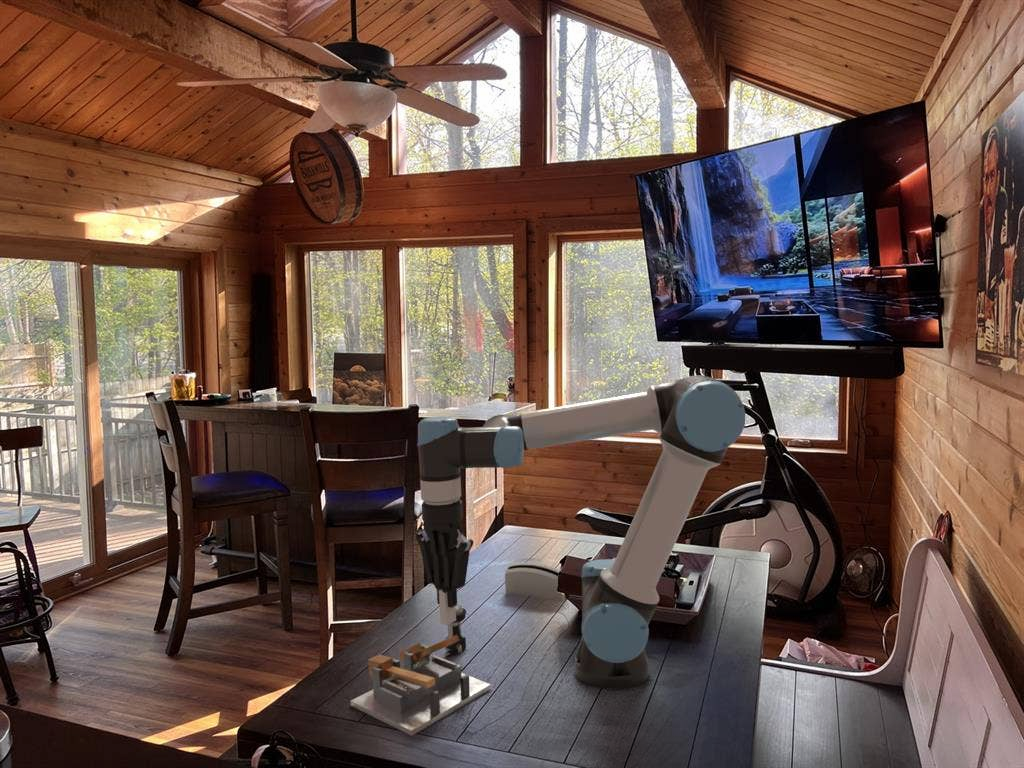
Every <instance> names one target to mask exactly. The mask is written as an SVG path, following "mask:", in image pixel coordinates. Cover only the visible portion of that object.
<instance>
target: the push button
mask: <svg viewBox="0 0 1024 768" xmlns="http://www.w3.org/2000/svg"><path fill="white" fill-rule="evenodd" d="M455 609H456V621H454V622H452V623H450V624H448V625H447V639H448V638H450V637H453V636H455V635H457V636H458V638H459V641H458V642H456V643H454V644H451V645H449V646H447V647H444V650H442V653H443V655H442V657H446V656H452V657H453V656H454V655H456V654H458V653H462V652H463V651H464V650H466V648H467V640H466V639H467V637H464V636H463V635H462V622H463V621H464V620H465V619H466V615H467V610H466V609H465V608H463V606H462V605H460V604H458V603H457V605H456V606H455ZM462 650H463V651H462Z"/></svg>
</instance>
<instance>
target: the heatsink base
mask: <svg viewBox="0 0 1024 768" xmlns="http://www.w3.org/2000/svg"><path fill="white" fill-rule="evenodd" d="M420 645H421V648H422V649H425V648H427V647H429V645H427V644H424V643H422V644H420ZM392 658H393V666H394V667H398V668H401V660H399V659H396V658H394V657H392ZM425 658H426V659H425V660H423V661H421V662H419V664H418V663H417V664H415V665H414V657H413V654H411V653H409V652H405V653H404V667H403V669H405V670H409V671H412V672H416V673H419V674H423V675H426V676H430V677H434V678H435V685H433V686H431V687H430V688H424V687H421V686H417V685H414V684H411V683H407V682H404V681H401V680H397V679H394V678H390V681H389V680H387V679H386V680H383V672H382V669H381V668H378V667H376V666H375V667H373V668H372V672H373V677H372V689H371V690H369V691H367V692H366V693H363V694H361V695H359V696H357V697H355V698H353V699H351V700H350V706H351V707H353V708H354V709H357V710H359V711H361V712H363V713H365V714H367V715H369V716H371V717H372V718H375V719H377V720H378V721H381V722H384V723H385V724H387V725H389V726H391V727H393V728H394V729H397V730H399V731H401V732H403V733H405V734H407V735H408V736H411V737H412V736H414V735H416V734H417V733H419V732H422V730H424V729H426V728H427V727H430V726H431V725H432V724H435V723H436V722H437V721H440V720H441V719H443V718H444V717H446V716H448V715H450V714H452V713H453V712H454V711H456V710H458V709H460V708H461V707H463V706H465V705H467V704H468V703H470V702H471V701H473V700H475V699H476V698H478V697H480V696H481V695H484V694H485V693H487V692H488V691H490V690H492V688H491V687H492V686H491V684H490V683H488V682H485V681H483V680H481V679H478V678H475V677H472V676H470V675H469V674H467V673H466V674H465V673H463V672H462V665H461V664H457V663H455V662H453V661H450V660H448V659H445V658H443V657H440V656H437V655H435V654H433V655H432V656H431V653H430V654H428V655H425Z"/></svg>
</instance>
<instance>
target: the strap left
mask: <svg viewBox="0 0 1024 768" xmlns="http://www.w3.org/2000/svg"><path fill="white" fill-rule="evenodd" d="M393 658H394V657H390V656H386V655H384V654H383V655H382V654H377V655H375V656H373V657H370V658H368V669H369V670H368V671H369V677H370V678H373V672H372V668H373V667H375V666H376V667H378V668H381V669H382V672H383V680H387V679H391V678H394V679H397V680H401V681H404V682H407V683H411V684H414V685H417V686H421V687H424V688H430V687H431V686H433V685H435V678H434V677H430V676H426V675H423V674H419V673H416V672H412V671H409V670H405V669H404V668H401V667H400V668H398V667H394V666H393Z"/></svg>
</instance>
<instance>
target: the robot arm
mask: <svg viewBox="0 0 1024 768" xmlns="http://www.w3.org/2000/svg"><path fill="white" fill-rule="evenodd" d="M745 424H746V410H745V406H744V404H743V401H742V400H741V397H740V396H739V395H738V393H737V391H736V390H734V389H733V388H732V387H731V386H730V385H728V384H726V383H724V382H723V381H720V380H718V379H716V378H714V377H711V376H708V375H702V374H701V375H700V374H698V375H696V374H695V375H691V376H688V377H687V376H686V377H683V378H679V379H677V380H672V381H668V382H664V383H663V382H662V383H658V384H653V385H650V386H649V388H648V389H647V390H646V391H643V392H637V393H632V394H625V395H620V396H619V395H618V396H615V397H609V398H601V399H596V400H590V401H584V402H579V403H572V404H567V405H560V406H555V407H550V408H549V407H548V408H543V409H537V410H532V411H525V412H521V413H514V414H509V415H508V414H497V415H493V416H491V417H490V418H488V419H487V420H486V421H485V423H484V424H483V426H482V427H481V426H479V427H478V426H475V427H463V426H462V427H461V426H460V425H459V422H458V419H457V418H456V417H454V416H441V415H440V416H430V417H426V418H423V419H421V420H420V421H419V422H418V424H417V444H416V446H417V451H418V452H417V453H418V463H419V464H418V465H419V480H420V481H419V483H420V498H421V500H422V503H421V515H422V516H421V517H422V522H423V523H425V524H424V528H423V530H422V531H420V532H418V533H417V532H416V533H415V539H416V541H417V543H418V545H419V549H420V552H421V557H422V561H423V566H424V567H423V568H424V570H425V574H426V578H427V579H426V580H427V582H428V584H429V585H431V584H432V585H434V588H435V589H436V598H437V599H436V600H437V602H436V603H437V604H438V605H439V617H440V624H441V625H444V626H448V624H450V623H452V622H454V621H456V609H455V606H456V605H457V604H458V591H457V590H458V589H460V588H463V587H464V586H466V581H467V573H468V567H469V565H468V564H469V559H470V551H471V549H472V547H473V546H474V540H472V538H470V539H468V538H466V536H465V535H464V533H463V529H462V526H461V522H462V519H463V515H464V513H463V500H461V499H460V498H461V497H462V484H461V483H462V481H461V480H462V479H461V469H477V468H478V469H485V468H487V469H489V468H490V469H491V468H493V469H494V468H502V469H507V468H513V467H520V466H522V464H523V463H524V456H525V451H528V450H535V449H536V450H537V449H542V448H547V447H553V446H560V445H566V444H572V443H573V444H574V443H579V442H584V441H590V440H597V439H602V438H609V437H615V436H622V435H627V434H628V435H629V434H635V433H639V432H640V433H641V432H646V431H651V430H653V431H655V432H656V433H658V434H660V436H659V438H658V439H659V442H660V444H661V446H662V451H661V455H660V457H659V459H658V462H657V464H656V465H655V468H654V471H653V473H652V475H651V477H650V480H649V482H648V484H647V487H646V489H645V491H644V493H643V496H642V498H641V500H640V503H639V504H638V507H637V509H636V512H635V514H634V516H633V517H632V518H633V519H632V521H631V524H630V525H629V528H628V530H627V532H626V535H625V537H624V538H623V542H622V543H621V546H620V548H619V550H618V553H617V555H616V558H613V559H611V558H610V559H606V558H605V559H595V560H590V561H587V562H585V563H584V564H583V565H582V568H581V570H582V571H581V576H580V578H581V592H582V593H581V597H582V598H581V602H582V604H581V605H582V606H581V610H582V611H581V612H582V613H581V617H582V618H581V620H582V621H581V626H580V628H581V634H582V635H581V639H580V642H579V646H578V649H577V652H576V655H575V658H574V673H575V675H576V677H577V678H578V680H580V681H581V682H583V683H585V684H587V685H588V686H592V687H595V688H599V689H604V690H625V689H631V688H633V687H637V686H640V685H642V684H643V683H645V682H646V681H647V679H648V678H649V677H650V661H649V659H648V657H647V653H646V650H645V648H646V645H647V643H648V640H649V636H650V633H649V631H650V629H649V624H650V622H651V620H652V617H653V615H654V613H655V611H656V609H657V606H658V604H659V602H660V595H659V593H658V591H657V585H658V582H659V581H660V579H661V576H662V573H664V570H665V568H666V566H667V565H666V564H667V562H668V560H669V558H670V556H671V554H672V551H673V550H674V546H675V545H676V543H677V541H678V538H679V535H680V534H681V531H682V529H683V527H684V525H685V522H686V520H687V518H688V516H689V513H690V511H691V509H692V507H693V504H694V502H695V500H696V498H697V496H698V493H699V491H700V489H701V487H702V485H703V482H704V480H705V478H706V475H707V473H708V471H709V470H711V469H713V468H715V467H719V466H720V465H721V464H722V461H723V460H724V457H725V455H726V453H727V451H728V449H729V447H731V446H732V445H733V444H734V443H736V442H737V440H738V439H739V437H741V435H742V432H743V430H744V428H745V426H746V425H745Z"/></svg>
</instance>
